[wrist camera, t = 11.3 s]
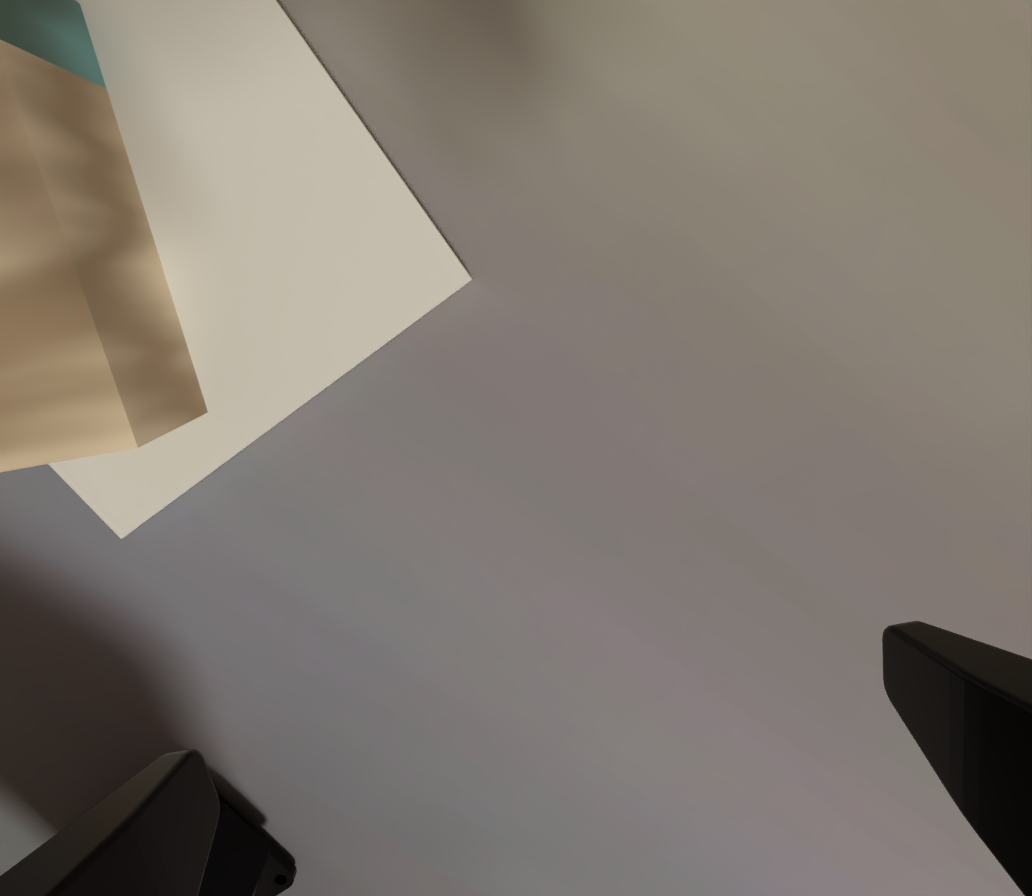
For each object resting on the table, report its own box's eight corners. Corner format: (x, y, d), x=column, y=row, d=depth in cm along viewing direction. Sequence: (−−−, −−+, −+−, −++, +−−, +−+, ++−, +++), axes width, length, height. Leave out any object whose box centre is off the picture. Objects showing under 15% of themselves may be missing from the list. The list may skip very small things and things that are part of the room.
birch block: (138, 447, 16) (-47, -77, 13) (-21, 475, 16) (-241, -40, 13) (207, 412, 20) (79, 3, 17) (80, 434, 20) (-71, 31, 17)
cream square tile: (131, 531, 21) (121, 538, 21) (-264, 122, 18) (-290, 117, 17) (472, 279, 19) (472, 279, 19) (110, -237, 16) (95, -256, 15)
